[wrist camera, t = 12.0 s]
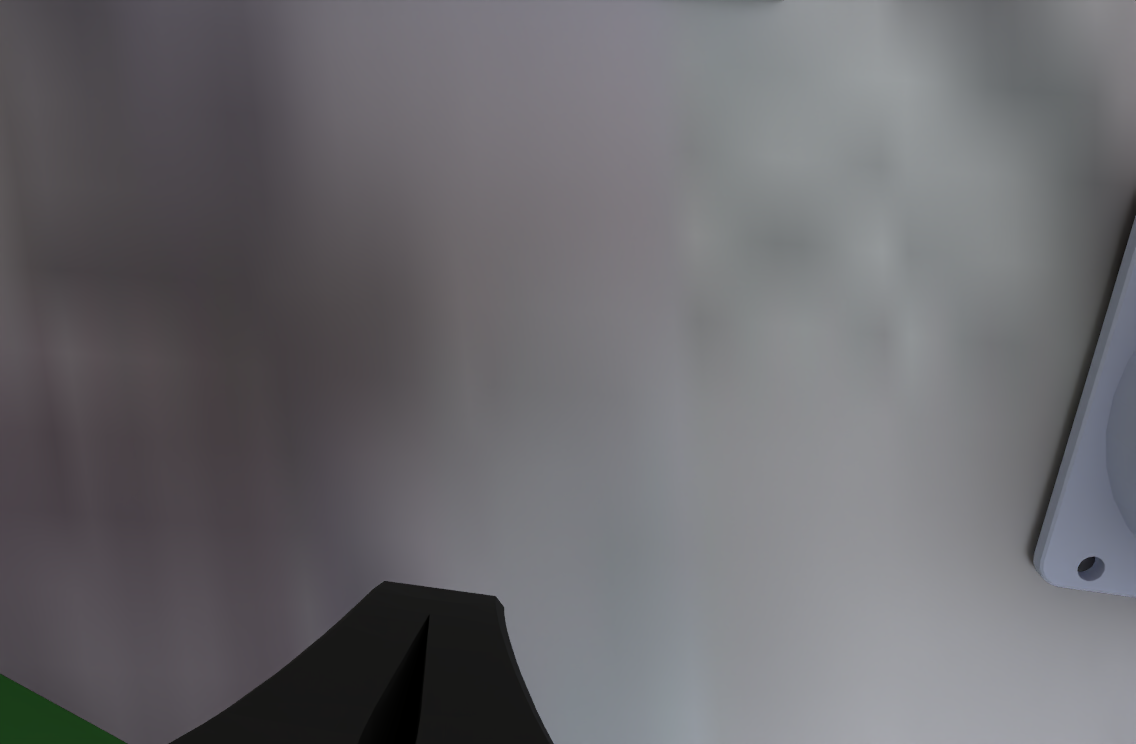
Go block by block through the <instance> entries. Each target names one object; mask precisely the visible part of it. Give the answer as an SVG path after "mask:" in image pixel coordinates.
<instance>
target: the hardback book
mask: <svg viewBox="0 0 1136 744" xmlns="http://www.w3.org/2000/svg"><path fill="white" fill-rule="evenodd" d="M0 744H127V743H125V742H124V741H122V740H120V739H118V738H116V737H114V736H113V735H111V734H109V733H107V732H105V731H104V730H102V729H100V728H98V727H96V726H94V725H93V724H91V723H89V722H87V721H85V720H83V719H82V718H80V717H78V716H76V715H74V714H73V713H71V712H69V711H67V710H65V709H63V708H62V707H60V706H58V705H56V704H54V703H52V702H51V701H49V700H47V699H45V698H43V697H42V696H40V695H38V694H36V693H34V692H32V691H31V690H29V689H27V688H25V687H23V686H21V685H20V684H18V683H16V682H14V681H12V680H11V679H9V678H7V677H5V676H3V675H1V674H0Z"/></svg>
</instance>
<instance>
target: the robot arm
mask: <svg viewBox="0 0 1136 744" xmlns="http://www.w3.org/2000/svg"><path fill="white" fill-rule="evenodd" d="M1088 557H1095V562H1094V564H1093V566H1092V567H1091V568H1089V569H1088V570H1086V571H1080V572H1078V566H1079V564H1080V563H1081V561H1083V560H1084V559H1086V558H1088ZM1033 563H1034V566H1035V568H1036V571H1037V572H1038V573H1039V574H1040V575H1041V576H1042V578H1043V579H1045V580H1046V581H1047V582H1048V583H1049V584H1051V585H1054V586H1057V587H1062V588H1070V589H1077V590H1084V591H1091V592H1098V593H1105V594H1113V595H1120V596H1127V597H1134V598H1136V216H1135V220H1134V223H1133V226H1132V230H1131V233H1130V236H1129V240H1128V243H1127V246H1126V250H1125V253H1124V256H1123V260H1122V263H1121V266H1120V270H1119V273H1118V276H1117V280H1116V283H1115V286H1114V290H1113V293H1112V296H1111V300H1110V303H1109V306H1108V310H1107V313H1106V316H1105V320H1104V323H1103V326H1102V330H1101V333H1100V336H1099V339H1098V343H1097V346H1096V349H1095V353H1094V356H1093V359H1092V363H1091V366H1090V369H1089V373H1088V376H1087V379H1086V383H1085V386H1084V389H1083V393H1082V396H1081V399H1080V403H1079V406H1078V409H1077V413H1076V416H1075V419H1074V423H1073V426H1072V429H1071V433H1070V436H1069V439H1068V443H1067V446H1066V449H1065V453H1064V456H1063V459H1062V463H1061V466H1060V469H1059V473H1058V476H1057V479H1056V483H1055V486H1054V489H1053V493H1052V496H1051V499H1050V503H1049V506H1048V509H1047V513H1046V516H1045V519H1044V523H1043V526H1042V529H1041V533H1040V536H1039V539H1038V543H1037V546H1036V549H1035V553H1034V562H1033ZM169 744H554V743H553V742H552V740H551V738H550V736H549V734H548V732H547V730H546V729H545V727H544V724H543V722H542V720H541V718H540V716H539V714H538V712H537V710H536V708H535V705H534V703H533V701H532V698H531V696H530V694H529V691H528V689H527V687H526V684H525V682H524V680H523V677H522V675H521V672H520V670H519V667H518V664H517V661H516V659H515V655H514V652H513V649H512V646H511V643H510V639H509V636H508V632H507V628H506V623H505V616H504V607H503V605H502V604H501V603H500V601H499V600H498V599H497V597H496V596H490V595H483V594H476V593H468V592H461V591H454V590H446V589H439V588H432V587H425V586H417V585H410V584H403V583H395V582H388V581H384V582H383V583H381V584H380V585H378V586H377V587H375V588H374V589H373V590H372V591H371V592H370V593H369V594H367V595H366V596H365V597H364V598H363V599H362V600H361V601H360V602H359V603H358V604H357V605H356V606H355V607H354V608H353V609H352V610H351V611H349V612H348V613H347V614H346V615H345V616H344V617H343V618H342V619H341V620H340V621H338V622H337V623H336V624H335V625H334V626H333V627H332V628H331V629H329V630H328V631H327V632H326V633H325V634H324V635H323V636H321V637H320V638H319V639H318V640H317V641H315V642H314V643H313V644H312V645H311V646H309V647H308V648H307V649H306V650H305V651H303V652H302V653H301V654H300V655H298V656H297V657H296V658H295V659H294V660H292V661H291V662H290V663H289V664H288V665H286V666H285V667H284V668H282V669H281V670H280V671H279V672H277V673H276V674H275V675H273V676H272V677H270V678H269V679H268V680H266V681H265V682H264V683H262V684H261V685H259V686H258V687H257V688H255V689H254V690H252V691H251V692H250V693H248V694H247V695H245V696H244V697H243V698H241V699H240V700H239V701H237V702H236V703H234V704H233V705H232V706H230V707H229V708H227V709H226V710H224V711H223V712H221V713H220V714H218V715H217V716H215V717H213V718H212V719H210V720H209V721H207V722H206V723H204V724H202V725H201V726H199V727H197V728H195V729H194V730H192V731H190V732H188V733H187V734H185V735H183V736H181V737H179V738H178V739H176V740H174V741H172V742H171V743H169Z"/></svg>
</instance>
